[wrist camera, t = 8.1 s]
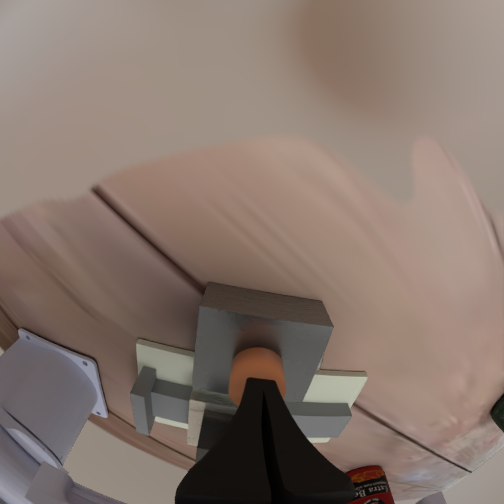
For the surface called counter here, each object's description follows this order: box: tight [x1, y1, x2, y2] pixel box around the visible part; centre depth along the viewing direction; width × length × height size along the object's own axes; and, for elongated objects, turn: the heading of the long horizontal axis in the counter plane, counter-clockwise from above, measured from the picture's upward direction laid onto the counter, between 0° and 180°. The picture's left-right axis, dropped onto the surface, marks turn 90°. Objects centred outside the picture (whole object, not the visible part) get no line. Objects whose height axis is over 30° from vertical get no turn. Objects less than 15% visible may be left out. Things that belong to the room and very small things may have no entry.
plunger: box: [228, 347, 286, 406], centre depth 13 cm, size 3×3×2 cm
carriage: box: [187, 388, 239, 464], centre depth 16 cm, size 5×6×6 cm
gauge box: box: [192, 282, 334, 402], centre depth 16 cm, size 7×6×3 cm
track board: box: [130, 339, 368, 442], centre depth 18 cm, size 17×9×4 cm, turn 79°
